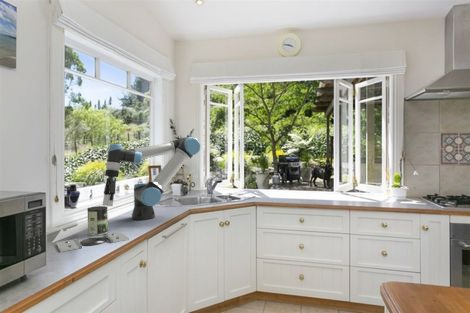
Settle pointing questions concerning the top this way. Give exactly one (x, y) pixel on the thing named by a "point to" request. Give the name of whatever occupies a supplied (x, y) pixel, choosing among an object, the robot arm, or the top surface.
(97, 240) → the hinge leaves
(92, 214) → the coffee can
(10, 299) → the top surface
